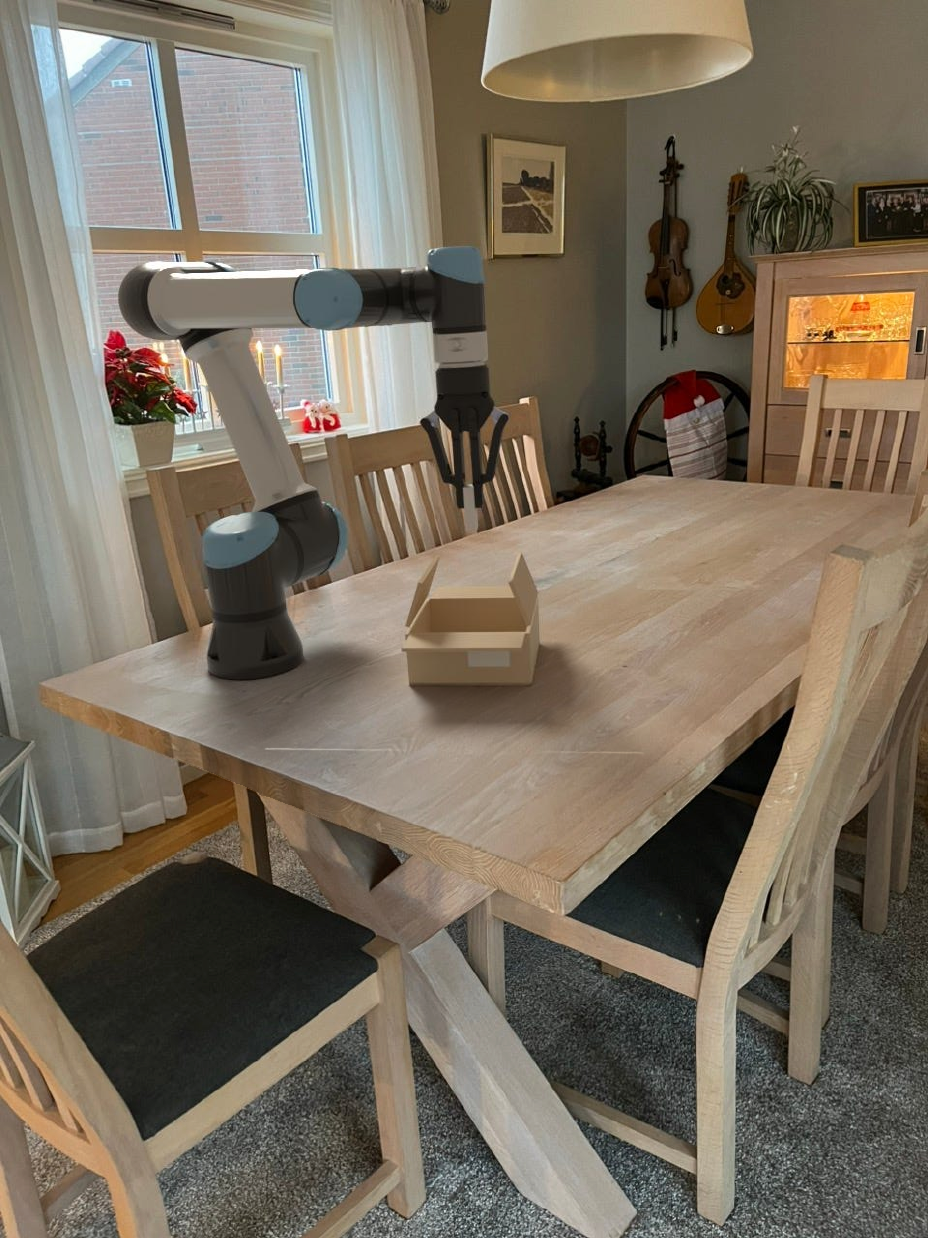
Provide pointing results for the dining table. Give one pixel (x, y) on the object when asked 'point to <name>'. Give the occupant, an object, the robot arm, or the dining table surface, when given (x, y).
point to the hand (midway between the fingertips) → (472, 529)
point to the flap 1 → (422, 590)
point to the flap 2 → (523, 589)
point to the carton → (472, 639)
